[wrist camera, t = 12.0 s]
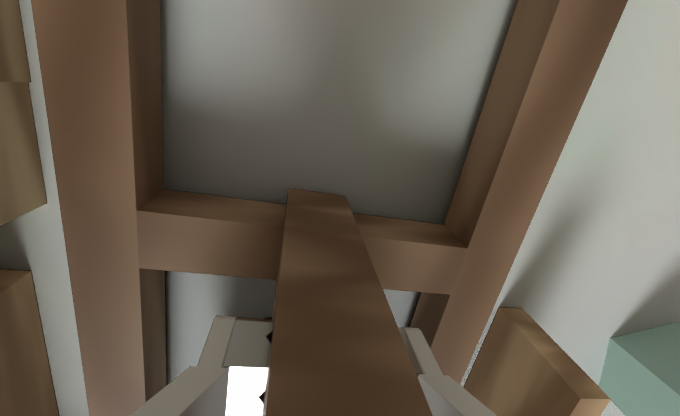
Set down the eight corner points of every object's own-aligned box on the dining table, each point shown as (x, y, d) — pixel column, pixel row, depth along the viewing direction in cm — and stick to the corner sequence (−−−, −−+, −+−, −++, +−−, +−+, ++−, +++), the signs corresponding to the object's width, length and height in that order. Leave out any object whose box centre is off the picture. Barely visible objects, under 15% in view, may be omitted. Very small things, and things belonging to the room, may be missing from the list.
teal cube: (676, 321, 22) (777, 385, 17) (659, 371, 24) (745, 441, 19) (609, 337, 22) (693, 406, 17) (597, 386, 24) (670, 461, 19)
